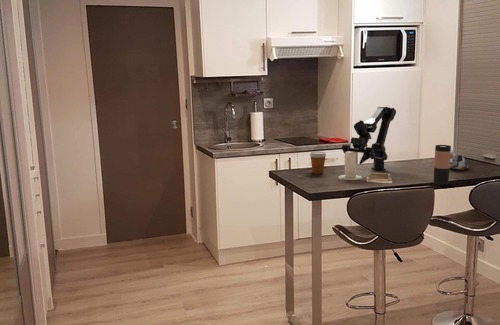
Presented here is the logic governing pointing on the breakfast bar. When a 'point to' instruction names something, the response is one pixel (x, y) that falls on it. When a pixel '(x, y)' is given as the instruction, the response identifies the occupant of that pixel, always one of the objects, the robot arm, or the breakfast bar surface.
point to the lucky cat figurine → (457, 161)
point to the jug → (350, 164)
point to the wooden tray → (379, 178)
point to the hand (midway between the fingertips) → (352, 162)
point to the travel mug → (442, 164)
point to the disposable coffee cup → (317, 162)
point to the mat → (349, 178)
